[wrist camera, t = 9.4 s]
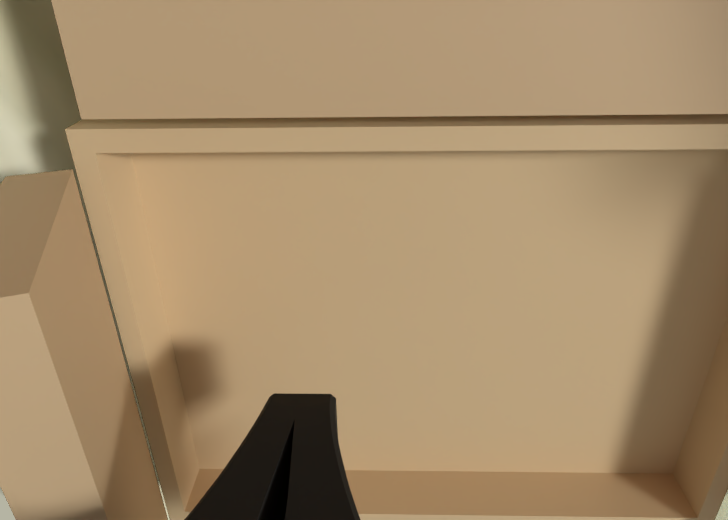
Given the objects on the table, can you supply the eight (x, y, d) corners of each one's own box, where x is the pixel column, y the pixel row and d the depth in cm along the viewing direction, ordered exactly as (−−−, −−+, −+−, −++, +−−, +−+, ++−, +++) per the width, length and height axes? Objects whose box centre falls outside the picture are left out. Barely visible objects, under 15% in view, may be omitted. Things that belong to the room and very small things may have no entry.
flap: (167, 518, 16) (174, 710, 12) (123, 530, 16) (115, 732, 12) (72, 169, 11) (28, 293, 7) (5, 176, 11) (-82, 311, 7)
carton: (679, 474, 18) (717, 541, 16) (187, 469, 19) (163, 534, 17) (885, -103, 11) (1005, -116, 9) (58, -86, 11) (-16, -95, 9)
